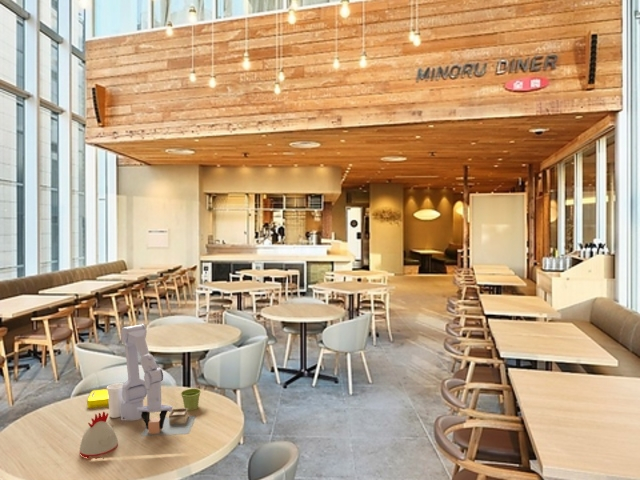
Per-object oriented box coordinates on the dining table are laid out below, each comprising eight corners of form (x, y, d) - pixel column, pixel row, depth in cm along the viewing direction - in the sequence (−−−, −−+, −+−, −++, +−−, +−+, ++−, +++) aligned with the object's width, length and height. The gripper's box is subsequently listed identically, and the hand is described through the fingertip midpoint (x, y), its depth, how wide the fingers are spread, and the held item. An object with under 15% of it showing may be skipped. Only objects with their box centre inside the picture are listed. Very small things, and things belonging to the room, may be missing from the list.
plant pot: (189, 415, 219) (188, 397, 219) (177, 410, 225) (176, 392, 225) (205, 408, 227) (204, 391, 226) (193, 404, 233) (192, 387, 232)
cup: (129, 412, 223) (128, 383, 223) (120, 419, 215) (119, 389, 215) (113, 411, 224) (112, 382, 224) (104, 419, 216) (102, 388, 216)
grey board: (140, 438, 197) (140, 436, 197) (152, 420, 215) (151, 417, 215) (188, 436, 198) (188, 433, 198) (196, 417, 216) (196, 415, 216)
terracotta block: (148, 433, 199) (148, 422, 198) (151, 429, 203) (151, 418, 203) (159, 433, 199) (158, 421, 199) (161, 428, 203) (161, 417, 203)
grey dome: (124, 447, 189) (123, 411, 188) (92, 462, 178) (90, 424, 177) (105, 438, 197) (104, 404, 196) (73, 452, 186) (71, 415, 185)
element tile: (91, 398, 243) (91, 389, 242) (122, 394, 247) (122, 386, 247) (86, 409, 228) (86, 400, 228) (119, 405, 233) (119, 396, 232)
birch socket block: (169, 424, 208) (169, 415, 208) (172, 417, 215) (172, 408, 215) (185, 423, 209) (185, 414, 208) (188, 416, 216) (188, 408, 215)
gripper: (134, 401, 196) (135, 433, 196) (169, 400, 197) (170, 431, 198) (138, 395, 203) (139, 425, 203) (173, 393, 204) (173, 424, 205)
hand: (155, 428), depth 201 cm, fingers open, 5 cm apart
